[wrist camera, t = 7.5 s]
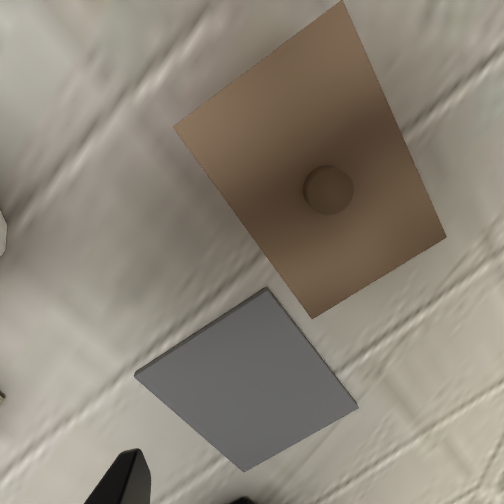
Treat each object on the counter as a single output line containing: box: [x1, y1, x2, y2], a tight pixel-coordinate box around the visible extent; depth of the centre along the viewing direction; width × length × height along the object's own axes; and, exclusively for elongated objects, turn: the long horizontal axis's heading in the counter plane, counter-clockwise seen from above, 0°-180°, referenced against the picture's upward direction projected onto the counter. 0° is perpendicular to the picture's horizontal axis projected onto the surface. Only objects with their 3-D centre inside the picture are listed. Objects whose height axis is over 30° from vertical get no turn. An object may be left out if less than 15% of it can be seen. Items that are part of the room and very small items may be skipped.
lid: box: [173, 0, 447, 319], centre depth 13 cm, size 10×6×3 cm
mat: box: [134, 287, 359, 472], centre depth 22 cm, size 12×10×1 cm
